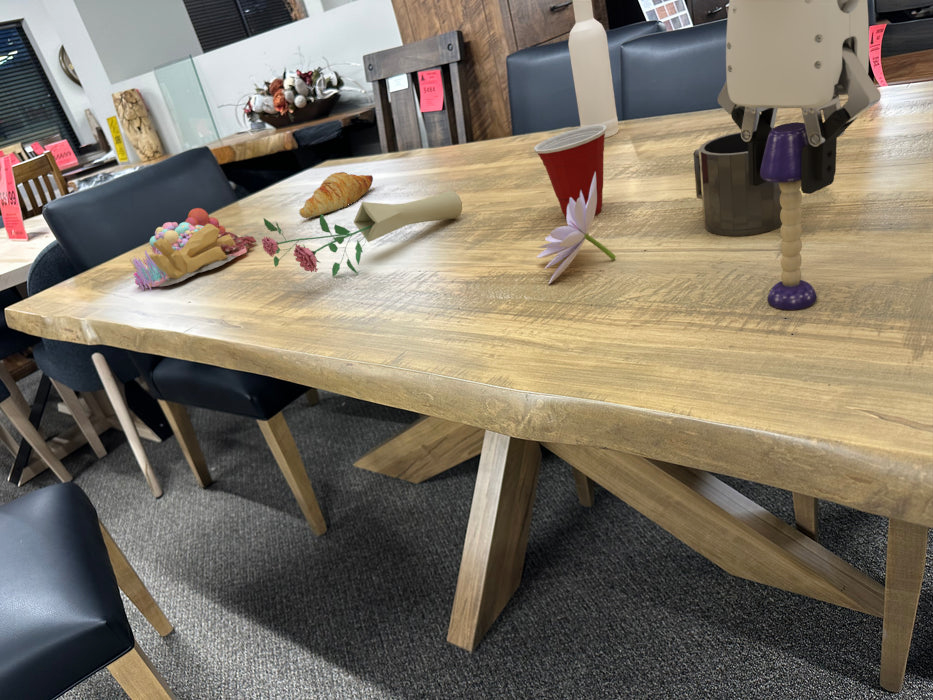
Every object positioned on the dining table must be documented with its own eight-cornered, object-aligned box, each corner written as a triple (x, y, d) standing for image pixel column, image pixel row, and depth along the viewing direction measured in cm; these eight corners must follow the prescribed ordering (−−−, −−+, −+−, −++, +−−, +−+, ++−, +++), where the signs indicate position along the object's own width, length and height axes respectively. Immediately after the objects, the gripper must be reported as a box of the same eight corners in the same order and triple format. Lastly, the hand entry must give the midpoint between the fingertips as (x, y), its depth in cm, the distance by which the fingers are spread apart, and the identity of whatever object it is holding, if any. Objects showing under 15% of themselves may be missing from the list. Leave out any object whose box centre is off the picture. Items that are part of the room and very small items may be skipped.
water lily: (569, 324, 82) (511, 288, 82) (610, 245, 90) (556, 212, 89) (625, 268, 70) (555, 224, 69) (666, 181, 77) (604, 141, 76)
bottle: (575, 141, 140) (551, -11, 126) (596, 130, 144) (575, -18, 130) (604, 140, 135) (582, -19, 121) (626, 129, 139) (607, -26, 125)
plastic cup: (559, 203, 105) (546, 130, 99) (625, 197, 99) (615, 119, 94) (537, 229, 97) (521, 150, 91) (606, 224, 91) (594, 140, 86)
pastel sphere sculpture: (275, 245, 125) (257, 200, 121) (162, 298, 112) (137, 250, 108) (222, 237, 143) (204, 197, 138) (119, 282, 130) (96, 240, 125)
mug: (807, 213, 78) (808, 131, 73) (748, 242, 75) (746, 158, 70) (725, 199, 89) (721, 126, 84) (671, 223, 86) (664, 149, 81)
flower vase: (470, 263, 112) (297, 313, 89) (424, 238, 119) (252, 279, 96) (480, 198, 106) (297, 234, 83) (430, 176, 113) (249, 204, 90)
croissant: (317, 237, 136) (316, 206, 130) (285, 216, 139) (282, 184, 133) (385, 199, 148) (387, 169, 142) (354, 181, 152) (354, 150, 146)
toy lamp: (824, 309, 59) (828, 126, 51) (769, 316, 60) (765, 138, 52) (809, 287, 63) (811, 114, 55) (758, 294, 64) (753, 126, 56)
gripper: (943, -91, 42) (917, 182, 50) (736, -44, 56) (743, 162, 64) (865, -67, 39) (852, 214, 48) (670, -24, 53) (687, 187, 62)
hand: (790, 182), depth 56 cm, fingers closed on toy lamp, 4 cm apart
